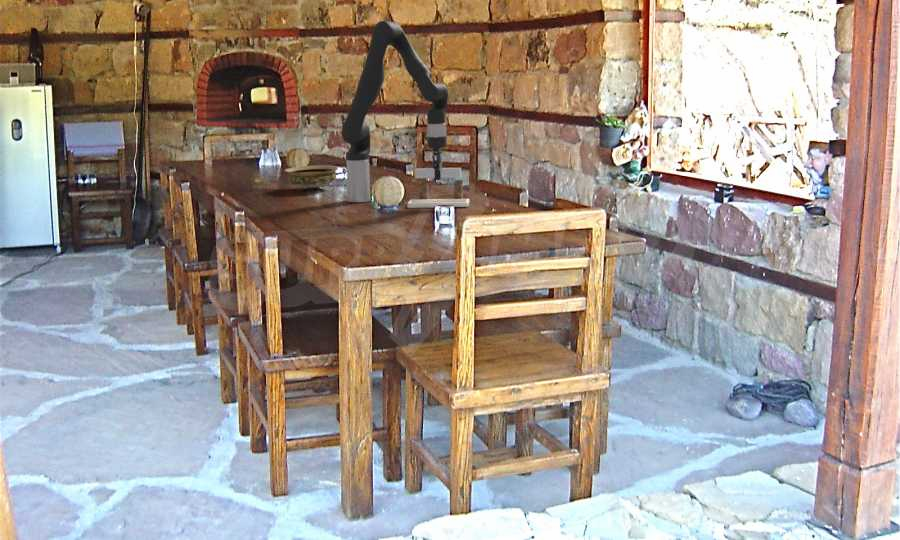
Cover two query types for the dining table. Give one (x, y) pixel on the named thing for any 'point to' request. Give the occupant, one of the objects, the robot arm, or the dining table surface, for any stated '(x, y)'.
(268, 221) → the dining table surface
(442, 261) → the dining table surface
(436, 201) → the tray
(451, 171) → the rail
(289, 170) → the ceramic bowl
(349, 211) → the dining table surface
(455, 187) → the rack
